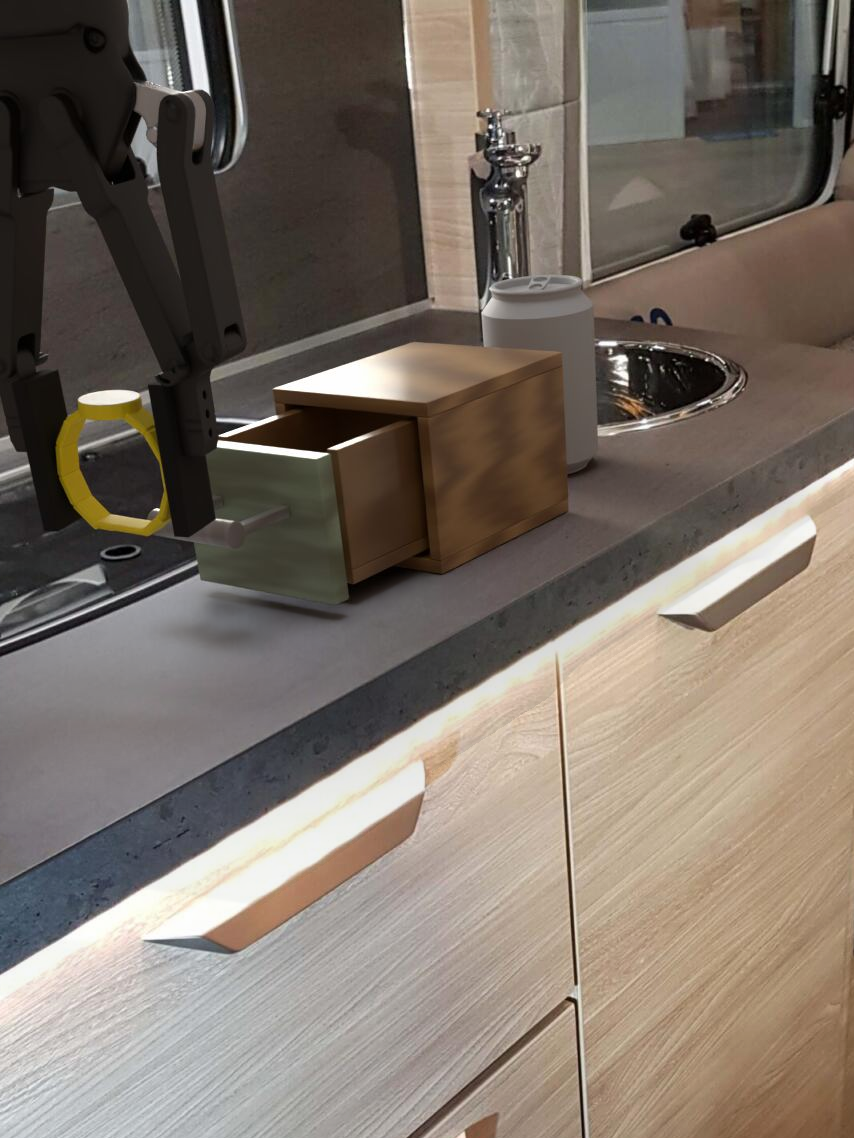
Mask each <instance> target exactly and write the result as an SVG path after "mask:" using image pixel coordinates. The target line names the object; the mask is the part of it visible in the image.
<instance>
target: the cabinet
mask: <svg viewBox="0 0 854 1138" xmlns="http://www.w3.org/2000/svg"><path fill="white" fill-rule="evenodd" d="M272 395H273V402H274V408H275V416H276V415H279V414H281V413H284V412H287V411H290V410H293V409H296V408H299V407H301V406H314V407H324V408H334V409H345V410H355V411H365V412H375V413H385V414H395V415H405V416H415V417H417V419H418V430H419V440H420V451H421V461H422V472H423V482H424V493H425V504H426V514H427V525H428V535H429V546H430V548H429V549H426V550H424V551H422V552H420V553H418V554H416V555H414V556H412V557H410V558H408V559H406V560H404V561H401V562H399V563H397V564H395V565H393V566H392V567H397V568H403V569H408V570H414V571H422V572H426V573H433V574H440V575H443V574H446V573H447V572H449V571H451V570H453V569H455V568H457V567H459V566H461V565H463V564H465V563H467V562H469V561H471V560H473V559H475V558H477V557H480V556H481V555H483V554H485V553H487V552H490V551H491V550H493V549H496V548H497V547H499V546H501V545H503V544H505V543H507V542H509V541H511V540H513V539H515V538H517V537H519V536H521V535H523V534H525V533H527V532H529V531H531V530H533V529H535V528H537V527H539V526H541V525H543V524H545V523H547V522H549V521H551V520H553V519H555V518H557V517H559V516H561V515H563V514H565V513H567V512H569V511H570V508H569V483H568V482H569V481H568V479H569V478H568V474H567V456H566V433H565V410H564V387H563V366H562V352H555V351H540V350H525V349H510V348H495V347H484V346H481V345H480V346H477V345H467V344H466V345H465V344H464V345H463V344H447V343H437V342H435V343H433V342H418V341H412V342H409V343H406V344H403V345H400V346H397V347H394V348H390V349H388V350H384V351H381V352H379V353H376V354H373V355H369V356H367V357H363V358H361V359H358V360H354V361H352V362H349V363H346V364H342V365H340V366H337V367H333V368H330V369H328V370H325V371H322V372H319V373H315V374H313V375H310V376H307V377H303V378H300V379H298V380H297V379H296V380H294V381H292V382H289V383H286V384H283V385H280V386H276V387H274V388H272Z"/></svg>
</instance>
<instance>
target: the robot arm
mask: <svg viewBox="0 0 854 1138" xmlns="http://www.w3.org/2000/svg"><path fill="white" fill-rule="evenodd" d="M130 15H131V13H130V5H129V0H0V401H1V405H2V410H3V414H4V417H5V422H6V426H7V431H8V436H9V440H10V443H11V444H12V446H13V448H14V450H15V452H16V453H26V456H27V461H28V465H29V470H30V472H31V478H32V483H33V487H34V491H35V497H36V501H37V506H38V510H39V514H40V519H41V524H42V528H43V531H44V532H56V533H57V532H60V531H62V530H63V529H65V528H67V527H69V526H70V525H72V524H73V523H76V522H77V521H79V520H80V519H83V517H82V516H81V515H80V514H79V513H78V512H77V511H76V510H75V509H74V507H73V505H72V504H71V503H70V501H69V499H68V497H67V495H66V493H65V490H64V488H63V486H62V484H61V482H60V480H59V475H58V473H57V462H56V450H55V447H56V446H57V445H56V441H57V438H58V435H59V433H60V430H61V428H62V425H63V422H64V420H66V418H67V417H68V416H69V415H68V411H67V406H66V400H65V397H64V392H63V391H64V390H63V386H62V382H61V376H60V371H59V369H57V368H55V369H54V368H43V369H41V370H38V371H37V367H38V366H41V365H43V364H45V363H46V362H47V361H48V359H49V354H48V353H45V354H44V352H43V351H41V347H42V346H41V345H42V343H41V342H42V326H43V325H42V321H43V301H44V281H45V260H46V258H45V257H46V243H47V241H46V239H47V221H48V219H47V218H48V213H49V210H50V208H51V207H52V205H53V203H54V198H55V189H59V190H62V191H66V192H69V193H76V194H77V196H78V199H79V201H80V203H81V205H82V208H83V209H84V211H85V213H86V214H87V215H88V216H89V217H91V218H93V219H94V220H95V222H96V224H97V226H98V228H99V230H100V232H101V235H102V237H103V240H104V242H105V244H106V247H107V248H108V251H109V253H110V255H111V258H112V261H113V263H114V265H115V267H116V269H117V272H118V274H119V276H120V278H121V281H122V283H123V286H124V288H125V290H126V292H127V294H128V297H129V300H130V301H131V303H132V306H133V308H134V310H135V313H136V315H137V317H138V319H139V322H140V325H141V326H142V329H143V331H144V333H145V335H146V338H147V341H148V342H149V345H150V347H151V349H152V351H153V355H154V356H155V358H156V361H157V363H158V366H159V367H160V370H161V372H159V373H157V374H156V375H154V378H155V380H154V381H152V382H151V383H148V384H147V390H148V394H149V401H150V407H151V414H152V415H153V418H154V424H155V430H156V435H157V441H158V447H159V452H160V458H161V464H162V469H163V475H164V481H165V486H166V492H167V498H168V503H169V509H170V515H171V520H172V526H173V532H174V537H191V536H192V535H193V534H195V533H196V532H198V531H199V530H201V529H202V528H204V527H205V526H207V525H208V524H210V523H211V522H213V521H214V520H215V519H216V517H215V511H214V505H213V498H212V492H211V486H210V480H209V473H208V467H207V461H206V454H208V453H210V452H211V451H213V450H215V449H216V448H217V444H218V439H219V435H220V434H219V430H218V424H217V422H218V421H217V415H216V410H215V404H214V403H215V402H214V397H213V396H214V395H213V390H212V383H211V375H212V371H213V369H214V368H215V367H216V366H218V365H221V364H222V363H224V362H226V361H228V360H230V359H232V358H234V357H236V356H238V355H240V354H242V353H243V352H244V351H245V349H246V348H247V345H248V338H247V333H246V327H245V323H244V318H243V313H242V308H241V303H240V298H239V293H238V288H237V283H236V278H235V272H234V267H233V262H232V257H231V252H230V248H229V243H228V237H227V233H226V228H225V222H224V216H223V212H222V207H221V203H220V197H219V192H218V186H217V182H216V177H215V172H214V166H213V162H212V146H213V137H214V136H213V134H214V121H215V103H214V101H213V97H212V96H211V95H210V93H208V91H207V90H203V89H197V88H196V89H190V90H187V91H180V90H176V89H173V88H171V87H167V86H165V85H164V86H163V85H161V84H157V83H154V82H152V81H148V78H147V75H146V73H145V70H144V69H143V67H142V65H141V64H140V62H139V60H138V59H137V57H136V55H135V53H134V50H133V48H132V45H131V39H130ZM142 119H143V121H144V123H145V126H146V132H145V136H146V140H147V141H148V143H150V144H151V145H152V146H153V147H154V148H156V167H157V174H158V181H159V184H160V185H159V186H160V189H161V194H162V198H163V203H164V208H165V212H166V218H167V222H168V226H169V231H170V236H171V241H172V245H173V250H174V254H175V255H174V256H175V259H176V263H177V268H176V266H175V263H174V260H173V258H172V257H171V254H170V252H169V248H168V246H167V244H166V241H165V240H164V238H163V234H162V232H161V230H160V227H159V226H158V222H157V221H156V218H155V215H154V213H153V210H152V209H151V205H150V204H149V200H148V198H149V187H148V183H147V181H146V179H145V177H144V174H143V172H142V170H141V167H140V165H139V162H138V160H137V158H136V155H135V153H134V150H133V148H132V143H133V141H134V138H135V135H136V133H137V131H138V128H139V125H140V123H141V120H142ZM111 183H112V184H111ZM177 269H178V271H177Z"/></svg>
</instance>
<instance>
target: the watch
mask: <svg viewBox="0 0 854 1138" xmlns="http://www.w3.org/2000/svg"><path fill="white" fill-rule="evenodd" d="M77 408H78V409H77V410H75V411H74V412H72V413H71V414H69V415H68V417H67V418H66V420H64V422H63V425H62V428H61V430H60V433H59V435H58V438H57V441H56V445H57V446H56V447H55V450H56V462H57V473H58V475H59V480H60V482H61V484H62V486H63V488H64V490H65V493H66V495H67V497H68V499H69V501H70V503H71V504H72V505H73V507H74V509H75V510H76V511H77V512H78V513H79V514H80V515H81V516H82V519H84V520H85V521H86V522H87V523H88V524H89V525H90V526H91V527H92V528H93V530H104V531H111V532H114V531H115V532H121V533H126V534H133V535H137V536H143V537H149V536H151V535H153V533H155V532H156V531H158V530H160V529H162V528H163V527H164V526H165V525H166V524H167V523H168V522H169V521H170V520H171V515H170V509H169V503H168V498H167V492H166V486H165V481H164V475H163V469H162V464H161V458H160V452H159V447H158V441H157V435H156V430H155V424H154V418H153V413H152V412H149V410H147V409H146V408H145V407H143V400H142V396H141V394H140V393H139V392H137V391H133V390H128V389H109V390H108V389H107V390H106V389H105V390H99V391H95V392H89V393H86V394H83V395H81V396H79V397H78V398H77ZM86 420H89V421H99V422H100V421H102V422H103V421H104V422H106V421H119V420H123V421H125V422H126V423H127V424H128V425H130V426H131V427H132V428H133V429H134V430H135V431H137V432H138V433H139V434H141V435H142V436H143V438H145V441H146V442H147V444H148V446H149V448H150V449H151V451H152V452H153V455H154V456H155V458H156V459H157V461H158V462H159V463H158V464H159V469H160V474H161V480H162V486H163V494H162V498H161V500H160V501H161V502H160V506H159V508H158V509H159V513H158V515H157V516H156V517H155V518H154V519H153V520H152V521H149V520H147V519H142V518H136V517H130V516H125V515H119V514H112V513H111V512H109V511H108V510H107V509H106V507H104V506H103V505H102V504H101V503H100V502H99V501H98V500H97V499H96V497H94V496H93V494H92V492H91V490H90V488H89V486H88V483H87V482H86V479H85V477H84V475H83V473H82V471H81V469H80V455H79V443H78V441H79V439H80V436H81V433H82V431H83V428H84V426H85V423H86Z"/></svg>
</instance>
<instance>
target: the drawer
mask: <svg viewBox="0 0 854 1138" xmlns="http://www.w3.org/2000/svg"><path fill="white" fill-rule="evenodd" d="M206 461H207V467H208V473H209V480H210V486H211V492H212V498H213V505H214V511H215V517H216V519H215V520H214V521H213V522H211V523H210V524H208V525H207V526H205V527H204V528H202V529H201V530H199V531H198V532H196V533H195V534H193V535H192V536H191V537H174V532H173V526H172V520H170V521H169V522H168V523H167V524H166V525H165V526H164V527H163V528H162V529H160V530H158V531H156V532H155V533H153V534H152V535H153V536H155V537H162V538H168V539H173V540H179V541H186V542H191V543H193V546H194V551H195V557H196V563H197V567H198V573H199V578H200V581H202V582H208V583H213V584H218V585H223V586H224V585H225V586H229V587H236V588H241V589H246V590H251V591H257V592H261V593H268V594H273V595H279V596H283V597H288V598H289V597H290V598H295V599H300V600H306V601H311V602H317V603H320V604H321V603H322V604H327V605H333V606H337V605H339V604H341V603H343V602H345V601H347V600H349V599H350V595H349V594H350V593H349V587H348V584H351V585H356V584H357V583H360V582H362V581H364V580H366V579H369V578H370V577H373V576H374V575H376V574H378V573H380V572H383V571H385V570H387V569H389V568H391V567H394V566H393V565H395V564H397V563H399V562H401V561H404V560H406V559H408V558H410V557H412V556H414V555H416V554H418V553H420V552H422V551H424V550H426V549H429V548H430V546H429V535H428V525H427V514H426V504H425V493H424V482H423V472H422V461H421V451H420V440H419V430H418V419H417V417H415V416H405V415H395V414H385V413H375V412H365V411H355V410H345V409H334V408H324V407H314V406H301V407H299V408H296V409H293V410H290V411H287V412H284V413H281V414H279V415H276V414H275V415H273V416H270V417H267V418H265V419H262V420H259V421H256V422H253V423H251V424H247V425H245V426H242V427H241V426H240V427H239V428H235V429H233V430H230V431H227V432H225V433H222V434H219V439H218V444H217V448H216V449H215V450H213V451H211V452H210V453H208V454H206ZM159 509H160V508H154V509H152V510H151V511H150V512H149V513H148V515H147V519H146V520H149V521H152V520H153V519H154V518H155V517H156V516H157V515H158V513H159Z"/></svg>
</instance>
